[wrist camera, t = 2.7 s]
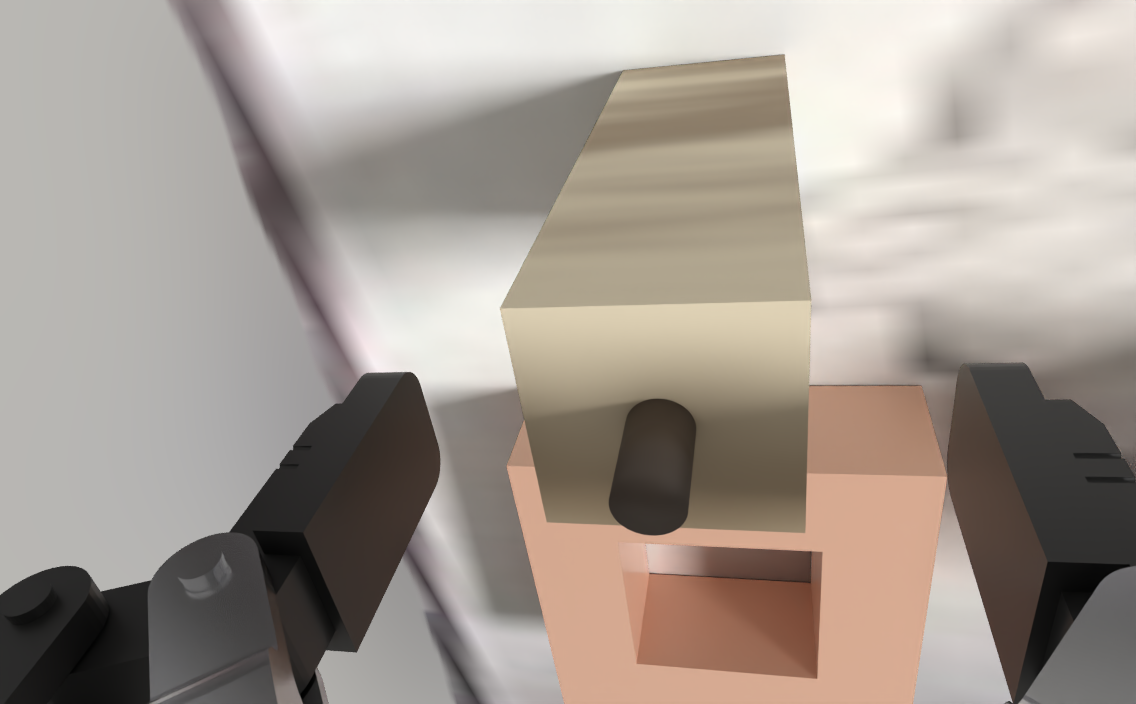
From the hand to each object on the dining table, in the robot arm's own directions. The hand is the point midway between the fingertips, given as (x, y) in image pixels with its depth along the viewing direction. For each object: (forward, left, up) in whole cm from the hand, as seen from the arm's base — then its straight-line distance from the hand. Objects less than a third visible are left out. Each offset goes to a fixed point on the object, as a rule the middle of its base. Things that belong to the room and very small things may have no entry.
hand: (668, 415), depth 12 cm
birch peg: (0, 0, -11) cm, 11 cm away
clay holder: (+14, 0, -11) cm, 18 cm away
